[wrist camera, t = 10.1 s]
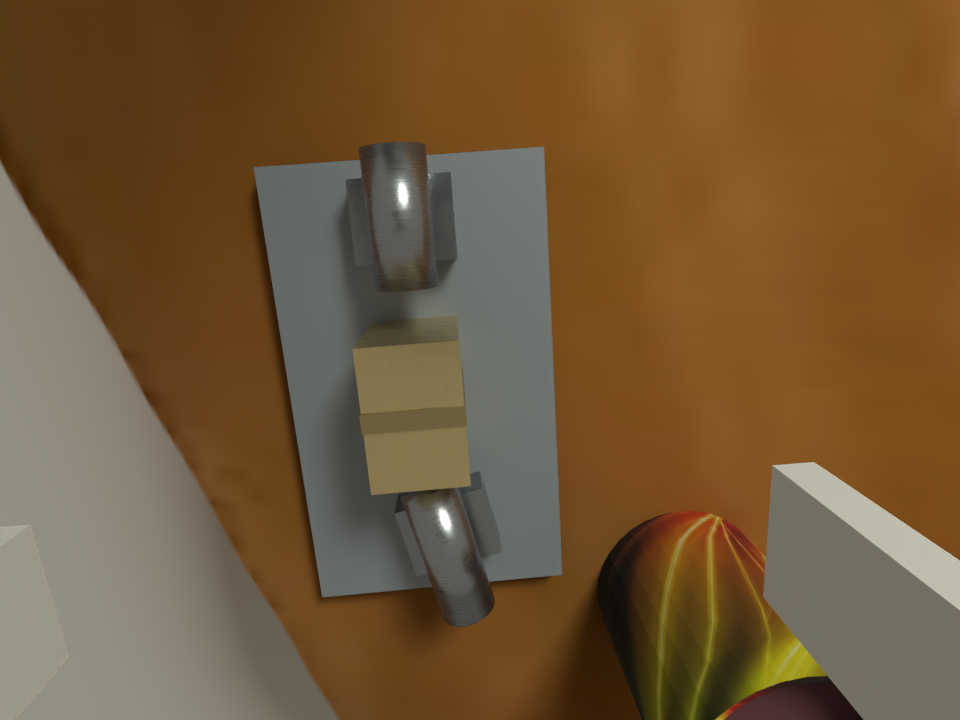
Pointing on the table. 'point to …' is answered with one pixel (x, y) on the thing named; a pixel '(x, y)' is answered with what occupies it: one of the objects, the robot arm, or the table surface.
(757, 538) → the table surface
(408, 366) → the tan rectangular block
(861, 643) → the robot arm
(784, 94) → the table surface
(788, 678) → the patterned mug
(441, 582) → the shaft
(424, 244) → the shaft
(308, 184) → the base plate
